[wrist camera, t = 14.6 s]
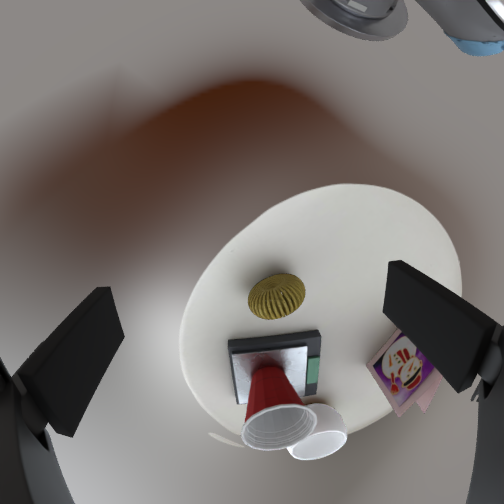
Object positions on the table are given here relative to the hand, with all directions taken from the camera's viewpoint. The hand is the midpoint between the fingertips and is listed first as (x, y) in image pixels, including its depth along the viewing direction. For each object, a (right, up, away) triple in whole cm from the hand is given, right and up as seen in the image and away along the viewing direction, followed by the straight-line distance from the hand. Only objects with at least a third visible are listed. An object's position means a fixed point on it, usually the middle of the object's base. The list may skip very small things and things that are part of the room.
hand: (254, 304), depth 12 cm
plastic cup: (+3, -19, +31) cm, 36 cm away
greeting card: (+28, -17, +35) cm, 48 cm away
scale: (+4, -18, +33) cm, 38 cm away
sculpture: (+3, -2, +29) cm, 29 cm away
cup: (+12, -32, +38) cm, 51 cm away
